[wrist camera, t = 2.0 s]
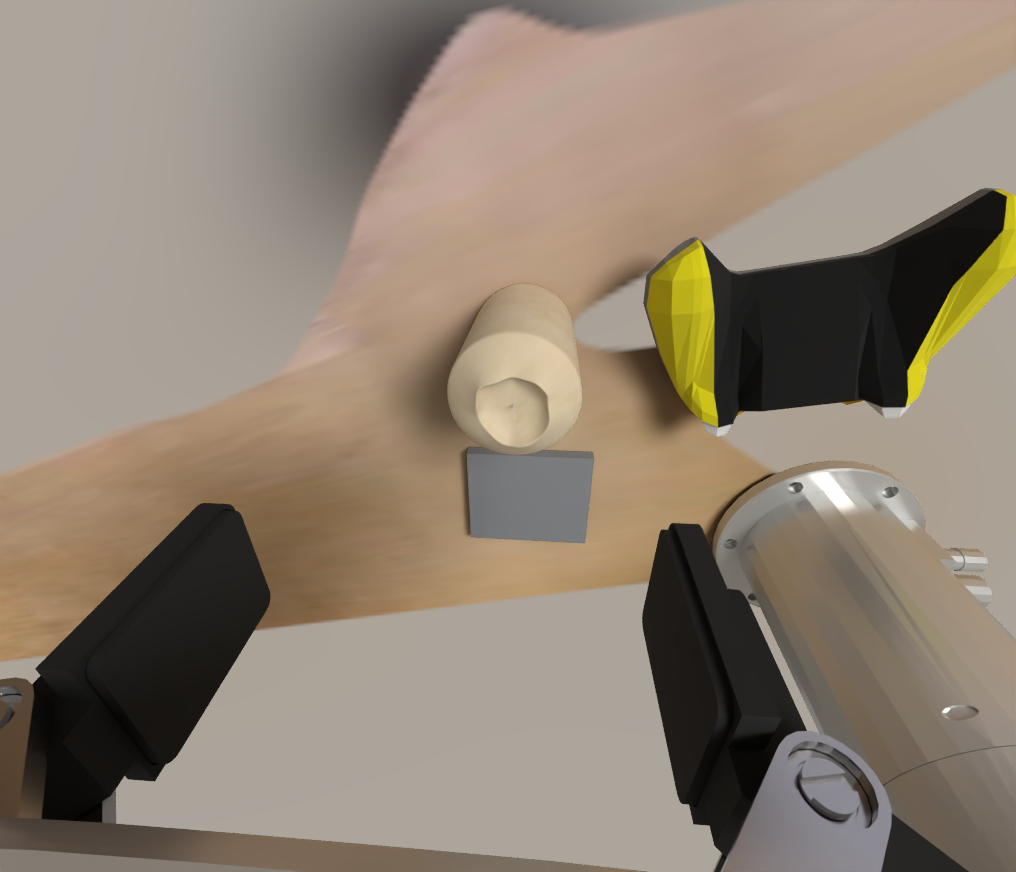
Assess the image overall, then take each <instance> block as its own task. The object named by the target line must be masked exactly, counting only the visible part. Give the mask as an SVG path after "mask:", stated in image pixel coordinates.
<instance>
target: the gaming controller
mask: <svg viewBox="0 0 1016 872" xmlns="http://www.w3.org/2000/svg"><path fill="white" fill-rule="evenodd" d="M1015 275H1016V196H1015V195H1012V194H1010V193H1008V192H1006V191H1003V190H1001V189H992V188H984V189H980V190H979V191H977V192H975V193H973V194H971V195H970V196H968V197H966V198H964V199H963V200H961V201H959V202H957V203H956V204H954V205H952V206H950V207H948V208H947V209H945V210H943V211H942V212H940V213H938V214H936V215H934V216H932V217H931V218H929V219H927V220H926V221H924V222H922V223H920V224H918V225H916V226H915V227H913V228H911V229H909V230H907V231H905V232H904V233H902V234H900V235H898V236H896V237H894V238H892V239H890V240H889V241H887V242H885V243H883V244H881V245H879V246H876V247H873V248H871V249H868V250H866V251H863V252H860V253H854V254H849V255H843V256H837V257H831V258H824V259H818V260H812V261H805V262H798V263H792V264H786V265H779V266H774V267H767V268H761V269H754V270H747V271H738V272H736V271H732V270H728V269H727V268H726V267H724V265H723V264H722V263H721V262H720V261H719V260H718V259H717V258H716V257H715V256H714V255H713V253H712V252H711V251H710V250H709V249H708V248H707V247H706V246H705V245H704V244H703V243H702V242H701V240H700V239H698V238H697V237H693V238H691V239H689V240H686V241H684V242H683V243H681V244H680V245H679V246H677V247H676V248H675V249H674V250H673V251H671V252H670V253H669V254H668V255H667V256H666V257H665V258H664V259H663V260H662V261H661V262H660V263H659V264H658V265H657V266H656V267H655V268H654V269H653V270H652V271H650V272H649V273H648V274H647V277H646V287H645V295H644V307H645V310H646V313H647V316H648V320H649V323H650V327H651V330H652V333H653V337H654V340H655V344H656V347H657V350H658V353H659V355H660V357H661V359H662V361H663V363H664V366H665V368H666V370H667V372H668V374H669V377H670V379H671V381H672V383H673V385H674V387H675V389H676V391H677V393H678V394H679V396H680V397H681V399H682V400H683V401H684V403H685V404H686V405H687V406H688V408H689V409H690V410H691V411H692V412H693V413H694V414H695V415H696V416H697V417H699V418H700V419H701V420H702V421H703V423H704V426H705V428H706V431H707V432H709V433H711V434H713V435H715V436H716V437H718V436H722V435H726V434H727V432H728V430H729V428H730V426H731V425H732V424H733V422H734V419H735V418H736V416H737V415H739V414H741V413H743V412H744V411H768V410H777V409H785V408H795V407H804V406H813V405H821V404H831V403H839V402H842V403H844V404H846V405H848V404H852V403H856V402H860V401H863V400H865V401H866V402H867V403H868V404H869V405H870V406H872V407H873V408H874V409H875V410H876V411H877V412H878V413H880V414H881V415H882V416H883V417H884V418H896V417H900V416H901V415H902V414H903V413H904V412H905V411H906V410H907V409H908V407H909V406H910V404H911V403H912V402H913V401H914V400H915V399H917V398H918V397H919V395H920V392H921V390H922V387H923V385H924V381H925V376H926V371H927V367H928V362H929V360H930V359H931V358H932V357H933V356H934V355H935V354H936V353H937V352H938V351H939V350H940V349H941V348H942V347H943V346H944V345H945V344H946V343H947V342H948V341H949V340H950V339H951V338H952V337H953V336H954V335H955V334H956V333H957V332H958V331H959V330H960V329H961V328H962V327H963V326H964V325H965V324H966V323H967V322H968V321H969V320H970V319H971V318H972V317H973V316H974V315H975V314H976V313H977V312H978V311H979V310H980V309H981V308H982V307H983V306H984V305H985V304H986V303H987V302H988V301H989V300H991V299H992V297H994V296H995V295H996V294H997V293H998V291H999V290H1001V289H1002V288H1003V287H1004V286H1005V285H1006V284H1007V283H1008V282H1009V280H1011V279H1012V278H1013V277H1014V276H1015Z"/></svg>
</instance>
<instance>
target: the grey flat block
mask: <svg viewBox="0 0 1016 872" xmlns="http://www.w3.org/2000/svg"><path fill="white" fill-rule="evenodd" d="M593 463H594V456H593V452H578V451H554V450H541V451H538V452H535V453H530V454H523V455H510V454H502V453H498V452H494V451H492V450H489V449H486V448H480V447H468V450H467V471H468V490H469V509H470V528H471V537H476V538H494V539H513V540H531V541H550V542H568V543H585V538H586V529H587V519H588V510H589V501H590V491H591V482H592V473H593Z"/></svg>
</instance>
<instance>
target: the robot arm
mask: <svg viewBox="0 0 1016 872" xmlns="http://www.w3.org/2000/svg"><path fill="white" fill-rule="evenodd" d="M925 524H926V520H925V515H924V510H923V507H922V505H921V504H920V502H919V500H918V498H917V497H916V495H915V494H914V493H913V492H912V491H911V490H910V489H909V488H908V487H907V486H906V485H905V484H904V483H903V482H902V481H900V480H899V479H897V478H896V477H895V476H893V475H892V474H890V473H889V472H887V471H884V470H882V469H880V468H877V467H875V466H873V465H868V464H863V463H858V462H851V461H827V462H817V463H810V464H806V465H802V466H798V467H794V468H790V469H788V470H785V471H783V472H780V473H778V474H775V475H773V476H770V477H769V478H767V479H765V480H763V481H762V482H760V483H758V484H756V485H754V486H753V487H752V488H750V489H749V490H748V491H746V492H745V493H744V494H743V495H741V496H740V497H739V498H738V499H737V500H736V501H735V502H734V503H733V504H732V505H731V506H730V507H729V509H728V510H727V511H726V512H725V514H724V515H723V517H722V519H721V520H720V522H719V524H718V526H717V529H716V532H715V534H714V537H713V547H712V551H711V548H710V546H709V544H708V541H707V539H706V537H705V534H704V532H703V529H702V528H701V526H700V525H699V524H680V523H672V524H670V526H669V529H668V530H661V531H660V534H659V539H658V544H657V548H656V553H655V558H654V562H653V567H652V572H651V576H650V581H649V586H648V591H647V596H646V600H645V604H644V609H643V617H642V623H643V631H644V636H645V641H646V646H647V651H648V655H649V660H650V665H651V670H652V675H653V680H654V684H655V689H656V694H657V699H658V704H659V709H660V713H661V718H662V722H663V727H664V732H665V737H666V742H667V747H668V752H669V757H670V762H671V766H672V771H673V776H674V781H675V786H676V790H677V794H678V797H679V800H680V802H681V803H682V804H689V806H690V810H691V815H692V820H693V824H698V825H710V829H711V833H712V837H713V841H714V845H715V847H716V848H717V849H718V850H719V851H720V852H721V855H720V857H719V859H718V861H717V863H716V866H715V868H714V870H713V872H1016V638H1015V637H1014V636H1013V635H1012V634H1011V633H1010V632H1009V631H1008V630H1007V629H1006V628H1005V627H1004V626H1003V625H1002V624H1001V623H1000V622H999V621H998V620H997V619H996V618H995V617H994V616H993V615H992V614H991V613H990V612H989V610H988V609H987V608H986V606H987V605H988V604H989V603H990V602H991V597H992V593H991V589H990V586H989V585H988V583H987V582H986V581H985V580H984V579H983V578H981V577H979V576H974V575H957V574H952V573H951V571H950V570H954V571H968V572H983V571H984V570H985V569H986V567H987V564H988V563H987V558H986V556H985V555H984V553H983V552H981V551H980V550H978V549H963V548H950V549H943V548H942V547H941V546H940V545H939V544H938V543H937V542H936V541H935V540H934V539H933V538H932V537H931V536H930V535H929V534H928V533H927V532H926V531H925ZM712 552H713V553H712ZM727 588H728V589H727ZM269 603H270V591H269V588H268V585H267V583H266V580H265V577H264V575H263V572H262V569H261V567H260V564H259V561H258V559H257V556H256V553H255V551H254V548H253V545H252V543H251V540H250V537H249V534H248V532H247V529H246V526H245V524H244V521H243V518H242V516H241V514H240V513H239V512H238V511H235V509H234V507H233V506H231V505H229V504H214V503H203V504H200V505H198V506H197V507H196V508H195V509H194V510H193V511H192V512H191V513H190V514H189V515H188V516H187V517H186V518H185V519H184V520H183V521H182V522H181V523H180V524H179V525H178V526H177V527H176V528H175V529H174V530H173V531H172V532H171V533H170V534H169V535H168V536H167V537H166V538H165V539H164V540H163V541H162V542H161V543H160V544H159V545H158V546H157V547H156V548H155V549H154V550H153V551H152V552H151V553H150V554H149V555H148V556H147V557H146V558H145V559H144V560H143V561H142V562H141V563H140V564H139V565H138V566H137V567H136V568H135V569H134V570H133V571H132V572H131V573H130V574H129V575H128V576H127V577H126V578H125V579H124V580H123V581H122V582H121V583H120V584H119V585H118V586H117V587H116V588H115V589H114V590H113V591H112V592H111V593H110V594H109V595H108V596H107V597H106V598H105V599H104V600H103V601H102V602H101V603H100V604H99V605H98V606H97V607H96V608H95V609H94V610H93V611H92V612H91V613H90V614H89V615H88V616H87V617H86V618H85V619H84V620H83V621H82V622H81V623H80V624H79V625H78V626H77V627H76V628H75V629H74V630H73V631H72V632H71V633H70V634H69V635H68V636H67V637H66V638H65V639H64V640H63V641H62V642H61V643H60V644H59V645H58V646H57V647H56V648H55V649H54V650H53V651H52V652H51V653H50V654H49V655H48V656H47V657H46V658H45V660H44V661H42V662H41V663H40V664H39V665H38V667H37V668H36V670H37V671H38V673H39V674H40V675H41V676H40V677H39V678H38V679H37V680H36V681H35V682H34V683H33V684H31V683H30V682H29V681H28V680H26V679H21V678H9V679H1V680H0V872H645V871H636V870H627V869H617V868H609V867H600V866H590V865H581V864H573V863H563V862H555V861H545V860H534V859H523V858H511V857H500V856H490V855H478V854H467V853H456V852H446V851H435V850H424V849H413V848H401V847H389V846H378V845H367V844H354V843H343V842H332V841H319V840H307V839H296V838H285V837H273V836H261V835H249V834H238V833H225V832H213V831H200V830H187V829H175V828H161V827H150V826H138V825H125V824H116V792H115V791H116V788H117V786H118V785H119V783H120V782H121V780H122V779H123V777H124V776H126V778H127V779H132V780H144V781H155V780H156V779H157V777H158V775H159V774H160V772H161V771H162V769H163V767H164V766H165V764H168V763H169V762H171V761H172V760H173V759H174V758H175V757H176V756H177V755H178V753H179V752H180V750H181V749H182V747H183V745H184V744H185V742H186V740H187V739H188V737H189V736H190V734H191V732H192V731H193V729H194V727H195V726H196V724H197V722H198V721H199V719H200V718H201V716H202V714H203V713H204V711H205V709H206V708H207V706H208V705H209V703H210V701H211V699H212V698H213V696H214V695H215V693H216V692H217V690H218V688H219V687H220V685H221V683H222V682H223V680H224V679H225V677H226V675H227V674H228V672H229V670H230V669H231V667H232V665H233V664H234V662H235V661H236V659H237V657H238V656H239V654H240V652H241V651H242V649H243V648H244V646H245V644H246V642H247V641H248V639H249V638H250V636H251V634H252V633H253V631H254V630H255V628H256V626H257V625H258V623H259V622H260V620H261V618H262V617H263V615H264V613H265V612H266V610H267V608H268V606H269ZM749 603H750V604H753V605H755V606H758V607H761V609H762V612H763V614H764V616H765V618H766V620H767V622H768V625H769V626H770V628H771V631H772V633H773V635H774V637H775V639H776V641H777V644H778V646H779V648H780V650H781V652H782V654H783V657H784V659H785V661H786V663H787V665H788V667H789V669H790V671H791V673H792V676H793V678H794V680H795V682H796V684H797V686H798V689H799V691H800V693H801V695H802V697H803V699H804V701H805V703H806V706H807V708H808V710H809V712H810V714H811V716H812V718H813V720H814V722H815V725H816V727H817V729H818V731H819V733H817V732H813V731H807V730H806V727H805V725H804V723H803V721H802V719H801V717H800V714H799V712H798V710H797V708H796V706H795V704H794V701H793V699H792V697H791V695H790V693H789V690H788V688H787V686H786V684H785V681H784V679H783V677H782V675H781V673H780V670H779V668H778V666H777V664H776V662H775V659H774V657H773V655H772V653H771V651H770V649H769V646H768V644H767V642H766V640H765V638H764V636H763V633H762V631H761V629H760V627H759V625H758V622H757V620H756V618H755V616H754V613H753V611H752V609H751V607H750V605H749Z"/></svg>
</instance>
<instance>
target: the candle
mask: <svg viewBox="0 0 1016 872" xmlns="http://www.w3.org/2000/svg"><path fill="white" fill-rule="evenodd" d="M447 399H448V404H449V408H450V411H451V414H452V416H453V418H454V420H455V422H456V423H457V425H458V426H459V427H460V429H461V430H462V431H463V432H464V433H465V434H466V435H467V436H468V437H469V438H470V439H472V440H473V441H474V442H476V443H477V444H479V445H481V446H483V447H485V448H486V449H489V450H492V451H494V452H498V453H502V454H510V455H523V454H530V453H535V452H538V451H541V450H544V449H546V448H548V447H550V446H552V445H554V444H555V443H557V442H558V441H559V440H561V439H562V438H563V437H564V436H565V435H566V434H567V433H568V432H569V431H570V429H571V428H572V427H573V425H574V423H575V421H576V420H577V417H578V415H579V412H580V408H581V404H582V386H581V378H580V371H579V363H578V356H577V348H576V341H575V333H574V327H573V323H572V319H571V316H570V313H569V311H568V309H567V308H566V306H565V305H564V303H563V302H562V301H561V300H560V299H559V298H558V297H557V296H556V295H555V294H554V293H552V292H551V291H549V290H547V289H545V288H543V287H541V286H537V285H533V284H515V285H511V286H508V287H505V288H503V289H501V290H499V291H498V292H496V293H494V294H493V295H492V296H491V297H490V298H489V299H488V300H487V301H486V302H485V303H484V305H483V306H482V308H481V309H480V311H479V313H478V315H477V317H476V319H475V321H474V323H473V325H472V327H471V329H470V332H469V334H468V336H467V338H466V340H465V342H464V344H463V346H462V348H461V350H460V352H459V354H458V357H457V359H456V361H455V363H454V365H453V367H452V369H451V372H450V375H449V379H448V384H447Z"/></svg>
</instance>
